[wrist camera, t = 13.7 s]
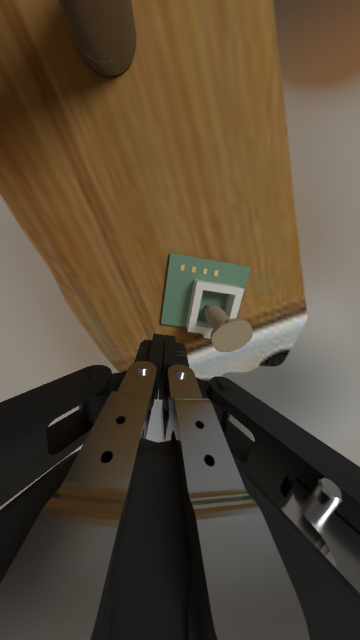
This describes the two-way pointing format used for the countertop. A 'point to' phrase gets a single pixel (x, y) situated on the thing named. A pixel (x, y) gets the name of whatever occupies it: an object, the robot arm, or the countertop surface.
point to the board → (183, 279)
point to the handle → (227, 330)
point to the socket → (198, 287)
